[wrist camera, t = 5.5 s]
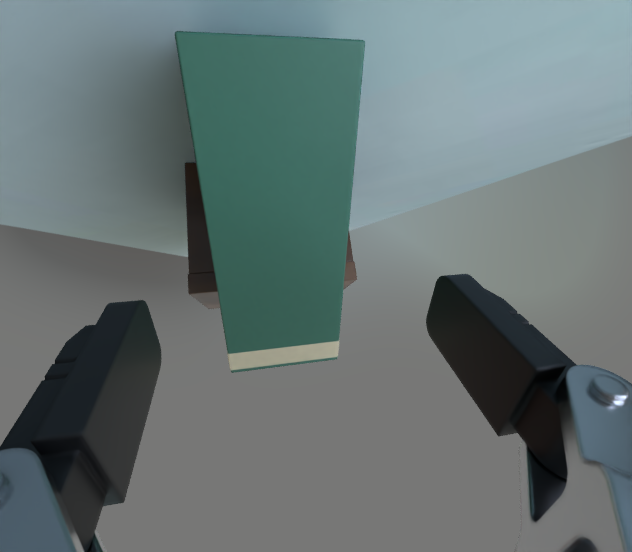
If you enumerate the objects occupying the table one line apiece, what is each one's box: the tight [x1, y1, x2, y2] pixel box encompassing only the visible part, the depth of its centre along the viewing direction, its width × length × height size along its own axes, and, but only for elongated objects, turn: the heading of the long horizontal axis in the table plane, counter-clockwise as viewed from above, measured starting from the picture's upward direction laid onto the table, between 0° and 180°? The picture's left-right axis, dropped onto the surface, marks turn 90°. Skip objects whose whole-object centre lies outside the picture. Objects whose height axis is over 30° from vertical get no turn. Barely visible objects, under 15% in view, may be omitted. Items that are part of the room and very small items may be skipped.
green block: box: [175, 31, 365, 373], centre depth 15 cm, size 13×6×13 cm, turn 172°
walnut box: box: [185, 163, 357, 309], centre depth 24 cm, size 7×10×8 cm
